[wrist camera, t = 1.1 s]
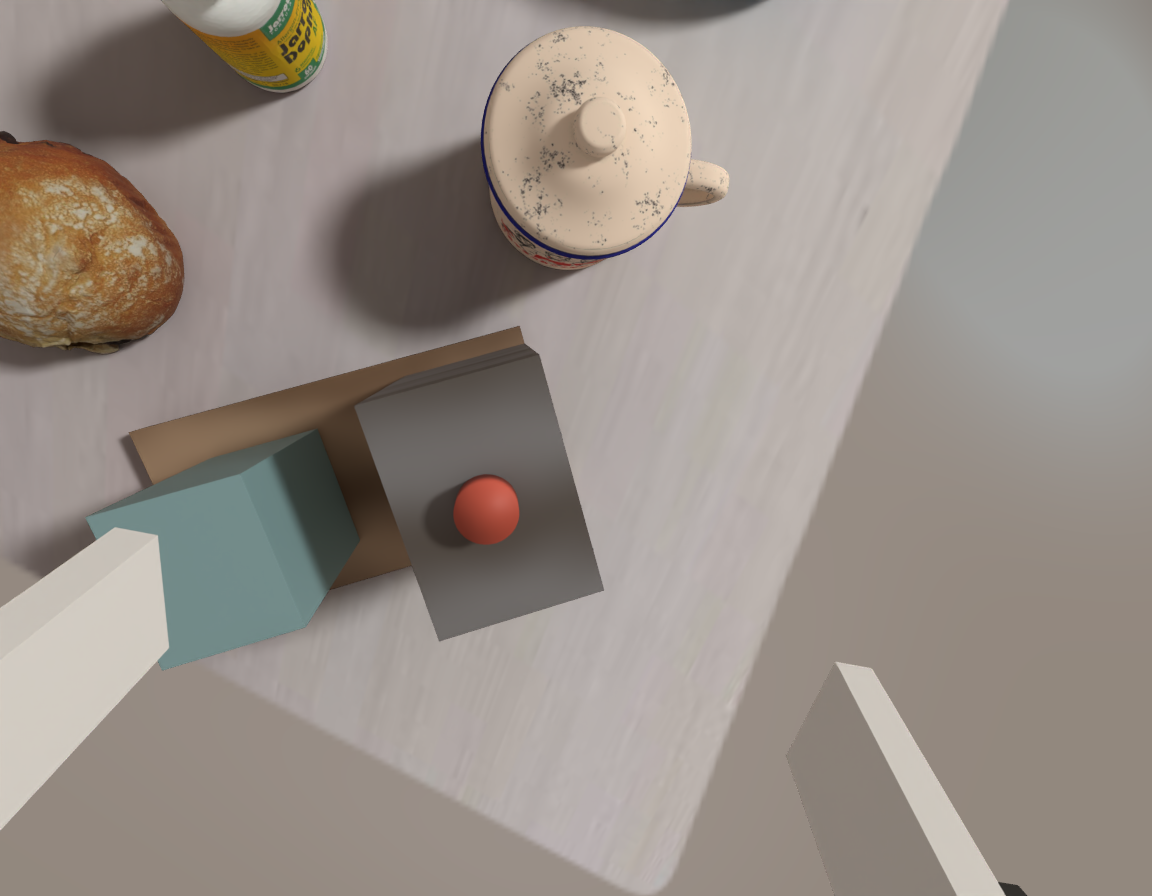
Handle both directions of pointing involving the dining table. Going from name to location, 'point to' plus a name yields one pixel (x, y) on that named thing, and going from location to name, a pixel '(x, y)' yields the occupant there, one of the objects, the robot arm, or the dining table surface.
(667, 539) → the dining table surface
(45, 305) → the bread roll
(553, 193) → the teacup with lid
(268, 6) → the supplement bottle
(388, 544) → the switch base
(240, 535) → the teal rectangular block
